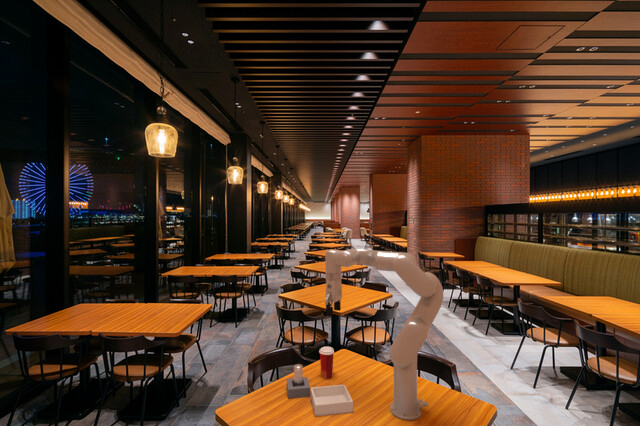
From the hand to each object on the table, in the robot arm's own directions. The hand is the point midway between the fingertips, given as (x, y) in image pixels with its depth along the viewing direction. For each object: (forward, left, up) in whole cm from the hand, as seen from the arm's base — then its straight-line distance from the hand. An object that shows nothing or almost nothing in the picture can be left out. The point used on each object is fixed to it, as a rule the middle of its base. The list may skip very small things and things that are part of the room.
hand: (333, 312), depth 146 cm
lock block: (+16, -5, -37) cm, 41 cm away
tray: (+3, +9, -37) cm, 38 cm away
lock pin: (+16, -5, -37) cm, 41 cm away
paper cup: (0, -17, -38) cm, 41 cm away
